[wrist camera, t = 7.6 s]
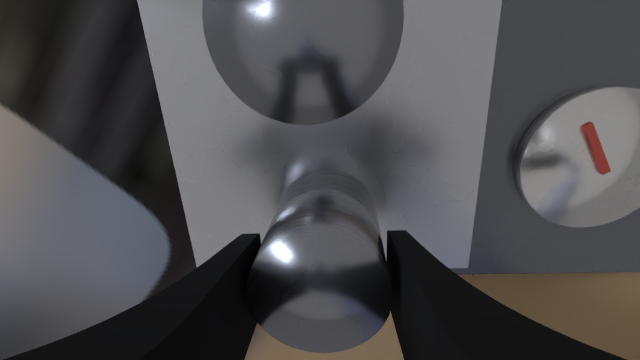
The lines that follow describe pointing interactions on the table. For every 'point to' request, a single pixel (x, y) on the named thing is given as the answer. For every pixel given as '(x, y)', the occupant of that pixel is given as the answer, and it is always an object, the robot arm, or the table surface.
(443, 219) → the pan
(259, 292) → the cylinder
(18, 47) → the table surface
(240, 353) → the robot arm
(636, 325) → the table surface
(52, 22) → the table surface
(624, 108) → the scale base
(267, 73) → the cylinder
